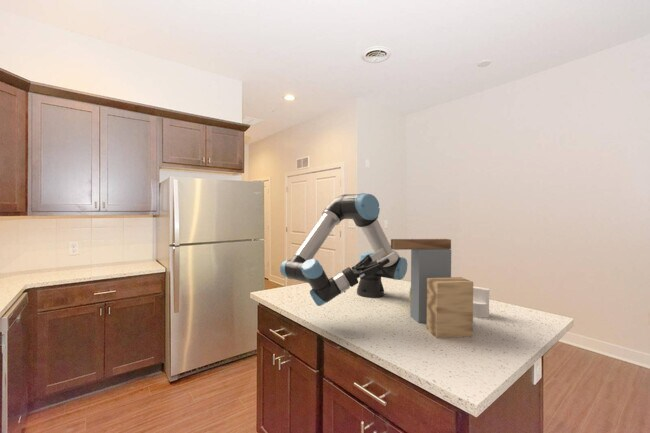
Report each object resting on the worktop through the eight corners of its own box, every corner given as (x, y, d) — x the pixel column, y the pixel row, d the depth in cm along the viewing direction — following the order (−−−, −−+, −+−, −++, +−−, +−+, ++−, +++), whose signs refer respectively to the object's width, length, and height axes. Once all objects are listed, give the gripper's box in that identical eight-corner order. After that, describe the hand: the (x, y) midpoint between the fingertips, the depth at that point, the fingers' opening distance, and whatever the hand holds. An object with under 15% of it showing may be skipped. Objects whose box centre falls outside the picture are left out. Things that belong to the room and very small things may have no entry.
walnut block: (390, 248, 129) (390, 239, 129) (445, 248, 132) (446, 238, 132) (394, 249, 125) (394, 239, 125) (450, 249, 128) (451, 239, 128)
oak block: (426, 329, 117) (427, 277, 117) (460, 327, 119) (460, 277, 119) (436, 337, 110) (437, 282, 109) (472, 336, 111) (473, 281, 111)
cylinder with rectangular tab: (463, 314, 135) (463, 287, 135) (470, 309, 142) (470, 284, 142) (485, 319, 129) (486, 291, 129) (491, 314, 136) (491, 287, 136)
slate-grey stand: (410, 316, 132) (411, 247, 132) (440, 315, 134) (441, 247, 134) (418, 322, 124) (419, 250, 124) (450, 321, 126) (451, 249, 126)
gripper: (344, 280, 137) (384, 256, 139) (357, 295, 112) (405, 265, 114) (336, 266, 136) (376, 242, 138) (347, 278, 111) (395, 248, 114)
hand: (389, 252), depth 126 cm, fingers open, 13 cm apart
